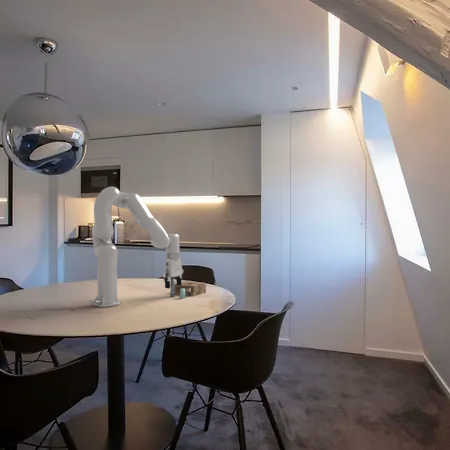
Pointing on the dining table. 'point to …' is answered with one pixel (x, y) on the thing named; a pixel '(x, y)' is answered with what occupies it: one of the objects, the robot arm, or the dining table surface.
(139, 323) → the dining table surface
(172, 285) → the long pin
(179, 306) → the dining table surface
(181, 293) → the short pin
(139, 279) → the dining table surface
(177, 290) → the bridge
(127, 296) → the dining table surface
